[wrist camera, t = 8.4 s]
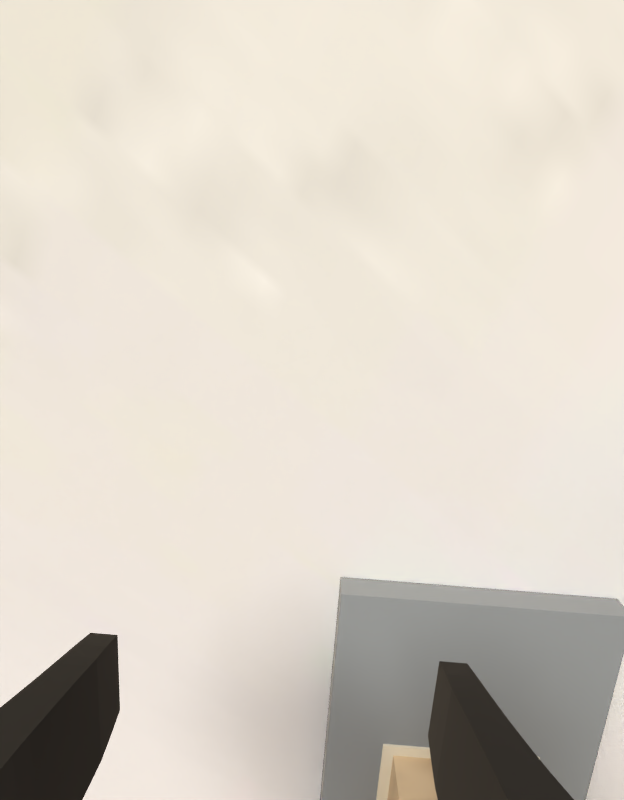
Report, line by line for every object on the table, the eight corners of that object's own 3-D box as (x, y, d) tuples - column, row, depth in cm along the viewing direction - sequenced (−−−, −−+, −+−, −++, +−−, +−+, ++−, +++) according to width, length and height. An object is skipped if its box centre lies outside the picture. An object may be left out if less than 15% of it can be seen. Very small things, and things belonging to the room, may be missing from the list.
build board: (617, 598, 22) (634, 618, 21) (549, 870, 26) (560, 901, 25) (340, 577, 22) (341, 595, 21) (315, 850, 26) (314, 879, 25)
